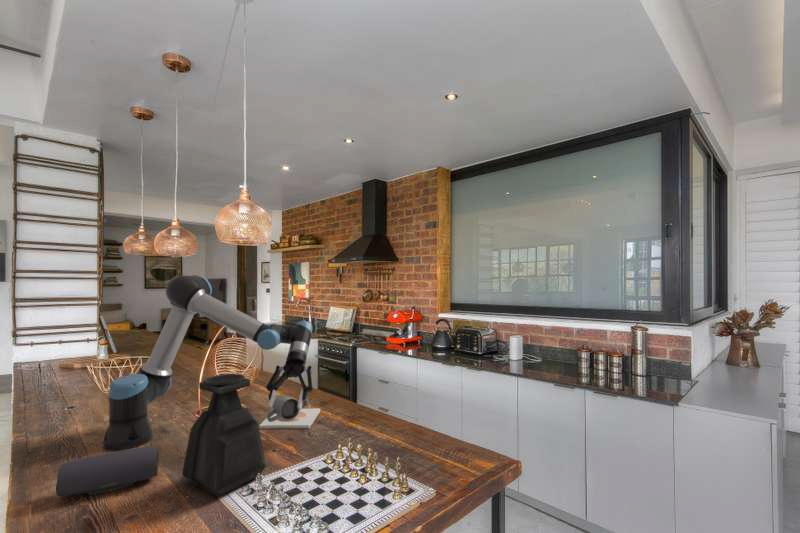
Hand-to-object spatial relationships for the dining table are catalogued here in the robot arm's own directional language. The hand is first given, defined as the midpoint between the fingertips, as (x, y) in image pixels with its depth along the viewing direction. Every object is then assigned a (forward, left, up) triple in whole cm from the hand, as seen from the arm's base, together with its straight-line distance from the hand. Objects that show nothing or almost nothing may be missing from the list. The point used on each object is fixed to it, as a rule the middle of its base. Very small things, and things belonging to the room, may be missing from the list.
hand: (284, 408), depth 141 cm
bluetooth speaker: (-29, +41, -13) cm, 52 cm away
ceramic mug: (+1, +1, -4) cm, 5 cm away
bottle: (-25, +10, -13) cm, 30 cm away
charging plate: (+31, +5, -13) cm, 34 cm away
